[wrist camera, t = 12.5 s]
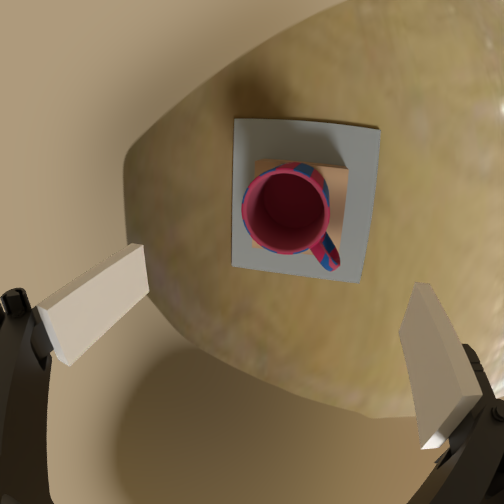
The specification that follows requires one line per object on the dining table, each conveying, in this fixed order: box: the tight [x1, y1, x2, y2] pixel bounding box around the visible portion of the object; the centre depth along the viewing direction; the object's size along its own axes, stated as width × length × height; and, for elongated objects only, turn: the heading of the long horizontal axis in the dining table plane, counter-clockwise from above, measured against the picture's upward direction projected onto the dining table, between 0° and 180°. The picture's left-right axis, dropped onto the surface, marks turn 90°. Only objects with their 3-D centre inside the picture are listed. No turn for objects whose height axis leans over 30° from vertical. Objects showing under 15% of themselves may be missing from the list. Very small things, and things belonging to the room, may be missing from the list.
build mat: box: [232, 119, 381, 283], centre depth 31 cm, size 18×16×1 cm
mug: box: [241, 162, 340, 272], centre depth 24 cm, size 7×10×7 cm
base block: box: [252, 159, 349, 255], centre depth 29 cm, size 9×9×4 cm
